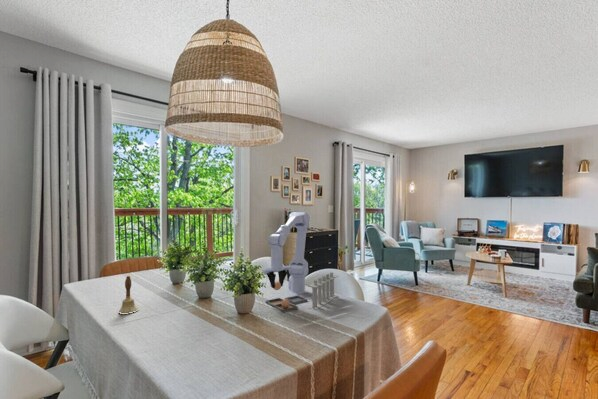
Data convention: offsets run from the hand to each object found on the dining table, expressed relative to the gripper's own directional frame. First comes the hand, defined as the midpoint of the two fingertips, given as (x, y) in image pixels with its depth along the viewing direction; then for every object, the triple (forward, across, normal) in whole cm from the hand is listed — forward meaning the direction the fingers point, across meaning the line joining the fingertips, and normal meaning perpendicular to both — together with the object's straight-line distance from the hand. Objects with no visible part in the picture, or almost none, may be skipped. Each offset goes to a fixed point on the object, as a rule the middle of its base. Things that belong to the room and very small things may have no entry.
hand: (276, 286), depth 150 cm
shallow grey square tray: (+9, +10, -2) cm, 13 cm away
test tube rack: (+9, +20, -11) cm, 25 cm away
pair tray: (+9, 0, -4) cm, 9 cm away
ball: (+8, 0, -8) cm, 11 cm away
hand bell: (+9, -60, +31) cm, 68 cm away
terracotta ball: (+2, 0, 0) cm, 2 cm away
